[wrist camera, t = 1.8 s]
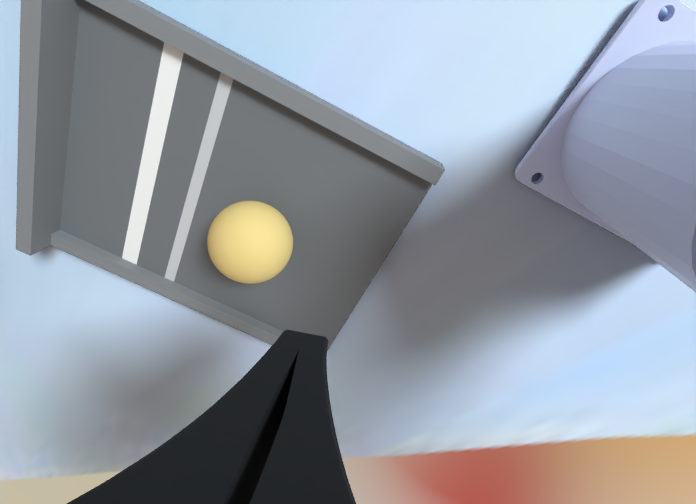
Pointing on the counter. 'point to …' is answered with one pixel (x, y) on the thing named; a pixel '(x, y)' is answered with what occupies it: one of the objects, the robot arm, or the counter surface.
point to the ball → (250, 242)
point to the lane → (199, 166)
